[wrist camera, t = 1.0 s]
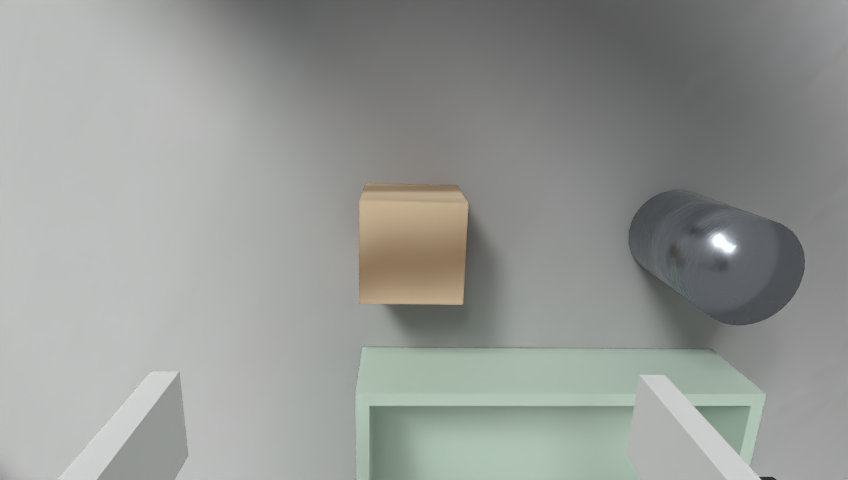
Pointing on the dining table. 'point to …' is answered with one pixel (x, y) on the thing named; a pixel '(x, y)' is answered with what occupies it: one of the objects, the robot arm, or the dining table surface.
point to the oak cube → (412, 244)
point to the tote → (529, 410)
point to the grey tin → (718, 255)
